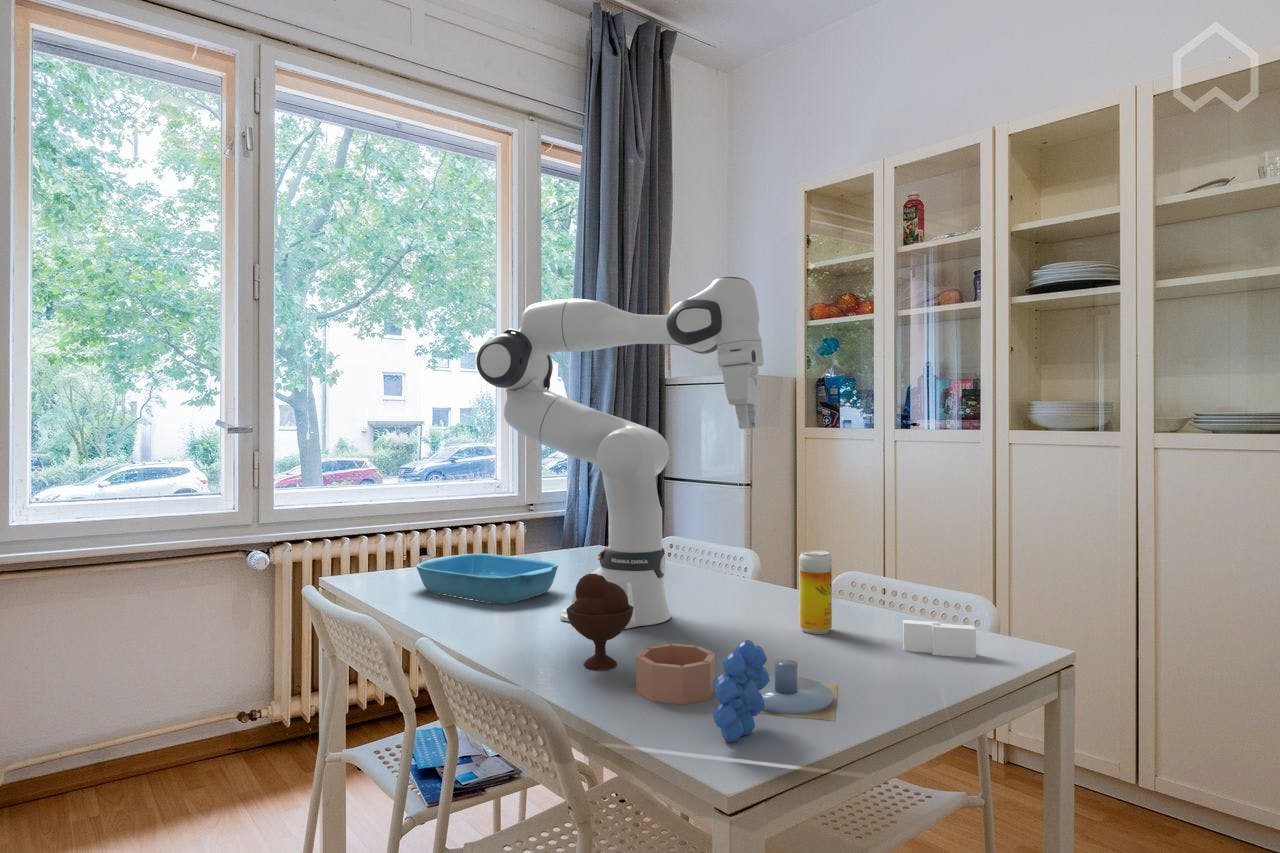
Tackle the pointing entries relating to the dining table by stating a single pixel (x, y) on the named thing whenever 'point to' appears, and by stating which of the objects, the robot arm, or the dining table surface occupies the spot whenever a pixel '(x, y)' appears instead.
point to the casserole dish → (487, 577)
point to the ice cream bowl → (599, 616)
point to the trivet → (822, 715)
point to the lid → (794, 692)
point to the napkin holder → (939, 638)
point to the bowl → (675, 673)
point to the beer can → (815, 591)
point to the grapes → (740, 690)
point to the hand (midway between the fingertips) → (747, 428)
